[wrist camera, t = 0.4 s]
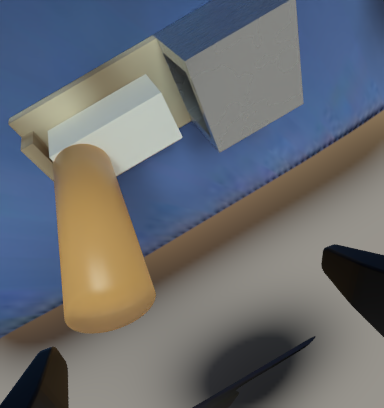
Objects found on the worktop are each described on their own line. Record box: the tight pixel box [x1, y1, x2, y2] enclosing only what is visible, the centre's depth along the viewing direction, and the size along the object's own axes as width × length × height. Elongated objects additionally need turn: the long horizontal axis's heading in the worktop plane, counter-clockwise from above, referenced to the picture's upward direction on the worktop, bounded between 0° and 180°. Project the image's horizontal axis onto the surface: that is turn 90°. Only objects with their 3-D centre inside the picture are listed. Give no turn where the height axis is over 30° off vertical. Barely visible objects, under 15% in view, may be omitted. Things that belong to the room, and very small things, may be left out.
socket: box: [153, 0, 303, 153], centre depth 18 cm, size 6×6×6 cm
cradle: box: [9, 35, 192, 181], centre depth 19 cm, size 10×6×2 cm, turn 112°
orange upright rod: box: [48, 74, 182, 333], centre depth 15 cm, size 8×3×12 cm, turn 112°
